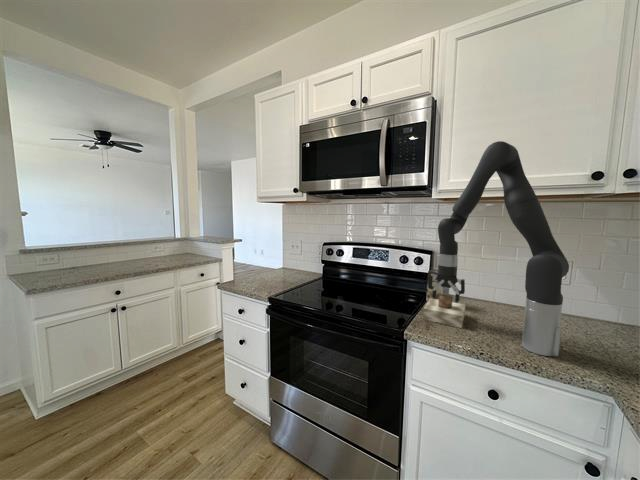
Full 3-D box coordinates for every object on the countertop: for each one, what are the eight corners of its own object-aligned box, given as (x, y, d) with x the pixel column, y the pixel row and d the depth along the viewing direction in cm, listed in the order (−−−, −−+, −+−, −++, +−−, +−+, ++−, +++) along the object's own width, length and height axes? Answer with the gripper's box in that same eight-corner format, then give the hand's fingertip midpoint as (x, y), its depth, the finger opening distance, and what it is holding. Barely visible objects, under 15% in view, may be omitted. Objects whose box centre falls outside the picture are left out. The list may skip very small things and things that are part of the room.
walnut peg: (451, 315, 117) (453, 294, 116) (450, 319, 112) (451, 298, 111) (438, 312, 120) (439, 292, 119) (436, 316, 115) (438, 295, 114)
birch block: (464, 315, 119) (465, 304, 118) (461, 328, 105) (462, 316, 105) (429, 308, 127) (430, 298, 126) (422, 319, 114) (423, 308, 113)
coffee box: (425, 300, 138) (427, 270, 136) (432, 298, 142) (434, 269, 140) (441, 305, 131) (443, 274, 129) (448, 303, 134) (450, 272, 133)
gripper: (467, 264, 113) (464, 301, 115) (431, 261, 121) (429, 295, 122) (465, 267, 107) (462, 306, 108) (428, 263, 114) (426, 299, 116)
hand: (445, 300), depth 115 cm, fingers open, 8 cm apart
